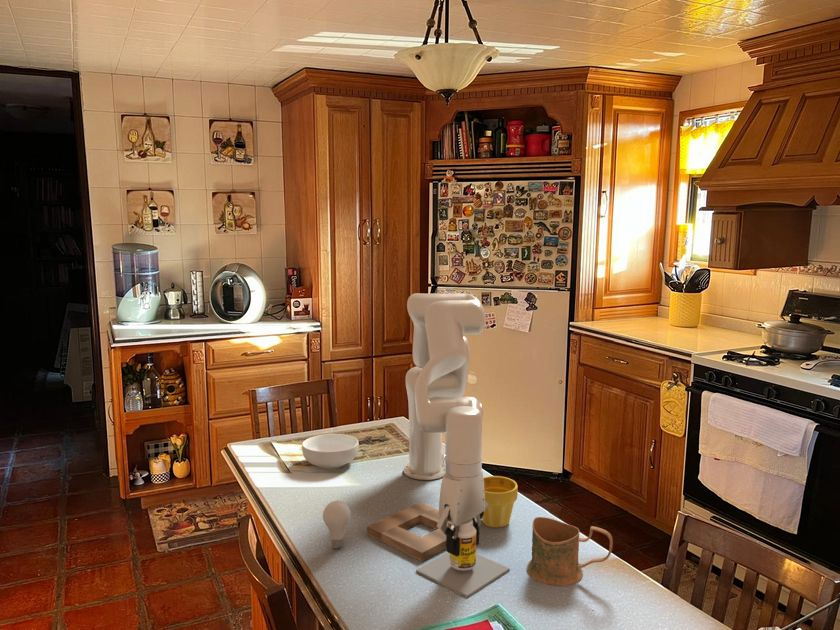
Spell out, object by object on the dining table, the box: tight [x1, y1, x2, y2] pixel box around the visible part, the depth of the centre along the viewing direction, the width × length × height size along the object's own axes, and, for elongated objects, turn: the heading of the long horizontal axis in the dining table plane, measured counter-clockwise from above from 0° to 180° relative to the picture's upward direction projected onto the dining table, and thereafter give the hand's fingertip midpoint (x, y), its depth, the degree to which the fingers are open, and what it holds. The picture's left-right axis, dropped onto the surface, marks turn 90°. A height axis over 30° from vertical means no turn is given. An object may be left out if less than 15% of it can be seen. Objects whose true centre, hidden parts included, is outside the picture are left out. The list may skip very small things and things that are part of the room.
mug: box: [526, 516, 614, 587], centre depth 140 cm, size 12×18×12 cm, turn 58°
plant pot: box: [481, 475, 519, 528], centre depth 165 cm, size 10×10×10 cm
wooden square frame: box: [366, 502, 453, 562], centre depth 159 cm, size 18×18×2 cm
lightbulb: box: [322, 500, 351, 550], centre depth 152 cm, size 6×6×11 cm
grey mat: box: [415, 551, 510, 598], centre depth 143 cm, size 14×14×1 cm
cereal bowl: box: [301, 433, 360, 470], centre depth 202 cm, size 17×17×7 cm
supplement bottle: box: [450, 519, 477, 571], centre depth 142 cm, size 6×6×10 cm
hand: (462, 547), depth 142 cm, fingers closed on supplement bottle, 5 cm apart
